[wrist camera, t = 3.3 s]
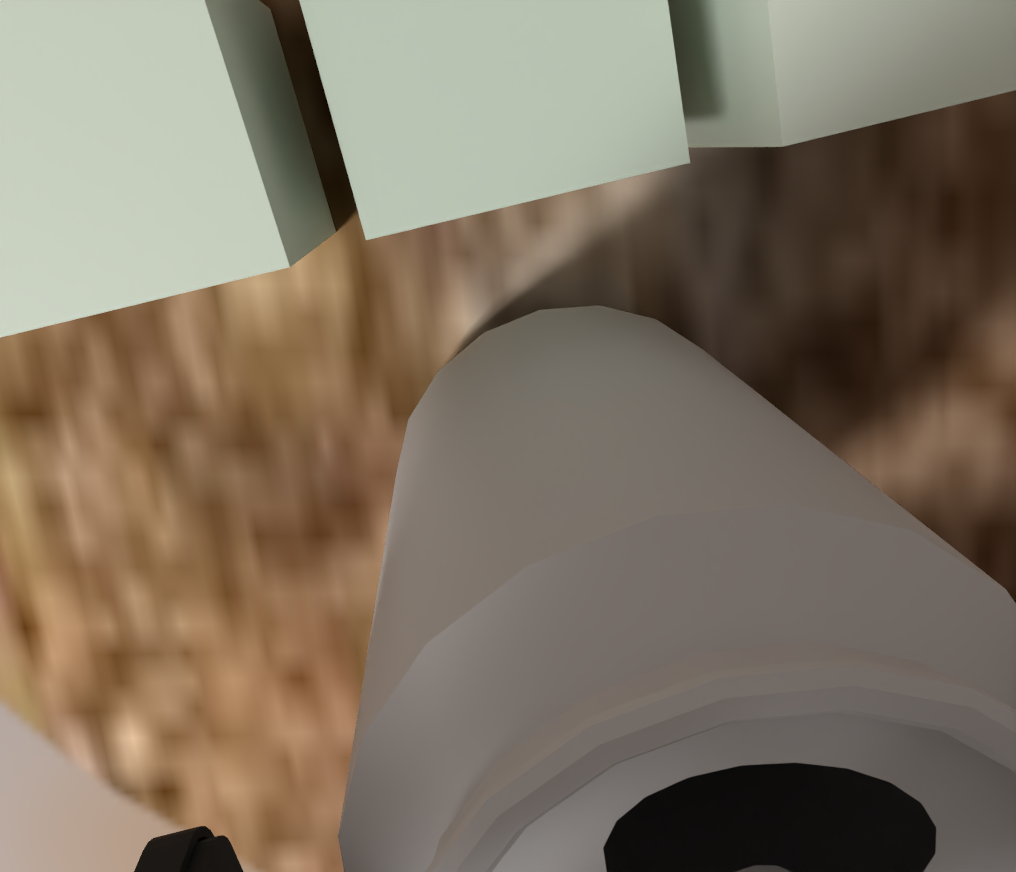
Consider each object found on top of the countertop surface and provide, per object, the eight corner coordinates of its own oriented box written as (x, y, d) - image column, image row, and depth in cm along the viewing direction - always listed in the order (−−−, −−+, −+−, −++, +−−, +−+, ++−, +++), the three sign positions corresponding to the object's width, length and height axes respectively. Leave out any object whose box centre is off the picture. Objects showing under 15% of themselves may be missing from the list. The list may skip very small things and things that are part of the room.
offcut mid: (326, -4, 15) (283, -59, 11) (595, -70, 15) (646, -146, 11) (385, 219, 16) (365, 240, 12) (632, 160, 16) (690, 163, 12)
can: (767, 311, 17) (1397, 634, 6) (705, 621, 19) (1061, 1275, 8) (408, 282, 16) (318, 583, 5) (391, 607, 19) (304, 1301, 7)
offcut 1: (2, 75, 15) (-209, 41, 10) (271, 9, 15) (186, -56, 10) (90, 291, 16) (-58, 351, 11) (336, 231, 16) (289, 266, 11)
